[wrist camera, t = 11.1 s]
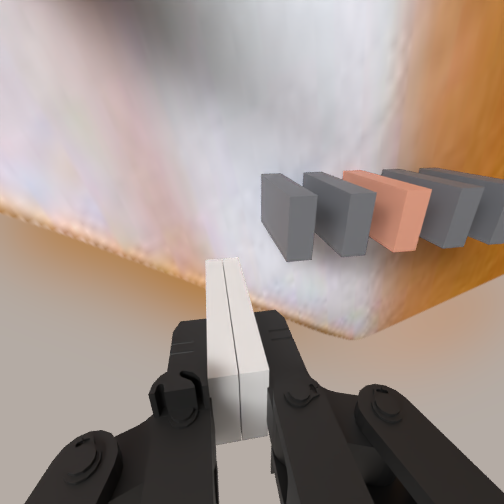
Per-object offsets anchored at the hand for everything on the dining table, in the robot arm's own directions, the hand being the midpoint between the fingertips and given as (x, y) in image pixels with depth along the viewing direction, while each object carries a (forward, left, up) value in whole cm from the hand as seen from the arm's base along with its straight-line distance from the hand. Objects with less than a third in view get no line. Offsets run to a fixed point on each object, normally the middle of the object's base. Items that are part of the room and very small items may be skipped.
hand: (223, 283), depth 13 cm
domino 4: (-20, 0, -16) cm, 25 cm away
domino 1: (-6, 0, -16) cm, 17 cm away
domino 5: (-24, 0, -16) cm, 29 cm away
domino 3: (-15, 0, -16) cm, 22 cm away
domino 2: (-11, 0, -16) cm, 19 cm away
